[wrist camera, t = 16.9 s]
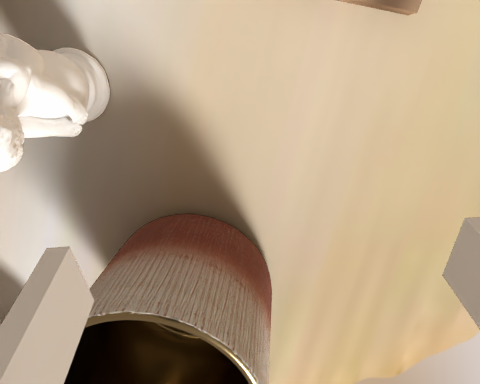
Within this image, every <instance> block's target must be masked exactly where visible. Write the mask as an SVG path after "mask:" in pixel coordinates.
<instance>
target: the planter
mask: <svg viewBox="0 0 480 384" xmlns="http://www.w3.org/2000/svg"><path fill="white" fill-rule="evenodd" d="M89 290H90V292H91V294H92V297H93V299H94V303H93V306H92V308H91V311H90V314H89V316H88V319H87V322H86V325H85V327H84V330H83V333H82V335H81V338H80V341H79V344H78V346H77V349H76V352H75V355H74V357H73V360H72V363H71V365H70V368H69V371H68V374H67V376H66V379H65V382H64V384H268V383H269V351H270V327H271V302H272V288H271V280H270V275H269V271H268V268H267V265H266V263H265V260H264V258H263V257H262V255H261V253H260V252H259V250H258V249H257V248H256V246H255V245H254V244H253V243H252V242H251V241H250V240H249V239H248V238H247V237H246V236H245V235H244V234H242V233H241V232H240V231H238V230H237V229H235V228H234V227H232V226H230V225H228V224H226V223H224V222H222V221H219V220H217V219H214V218H211V217H207V216H202V215H194V214H178V215H171V216H166V217H162V218H159V219H156V220H154V221H152V222H150V223H148V224H146V225H145V226H143V227H142V228H140V229H139V230H138V231H136V232H135V233H134V234H133V235H132V236H131V237H130V238H129V239H128V240H127V241H126V243H125V244H124V245H123V246H122V248H121V249H120V250H119V251H118V253H117V254H116V255H115V257H114V258H113V259H112V260H111V262H110V263H109V264H108V266H107V267H106V268H105V270H104V271H103V272H102V274H101V275H100V276H99V277H98V279H97V280H96V281H95V283H94V284H93V285H92V287H91V288H90V289H89Z"/></svg>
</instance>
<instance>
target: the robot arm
mask: <svg viewBox="0 0 480 384" xmlns="http://www.w3.org/2000/svg"><path fill="white" fill-rule="evenodd" d="M442 276H443V277H444V278H445V280H446V281H447V283H448V284H449V286H450V287H451V289H452V290H453V291H454V293H455V294H456V296H457V297H458V299H459V300H460V302H461V303H462V304H463V306H464V307H465V309H466V310H467V312H468V313H469V315H470V316H471V317H472V319H473V320H474V322H475V323H476V325H477V326H478V328H479V329H480V217H473V218H465V219H464V222H463V224H462V227H461V229H460V232H459V234H458V237H457V239H456V242H455V244H454V247H453V249H452V252H451V254H450V257H449V260H448V262H447V265H446V267H445V270H444V272H443V275H442ZM93 303H94V299H93V297H92V294H91V292H90V290H89V288H88V285H87V283H86V281H85V279H84V277H83V274H82V272H81V270H80V268H79V266H78V263H77V261H76V259H75V257H74V254H73V252H72V250H71V248H70V247H57V248H47V249H46V250H45V252H44V254H43V255H42V257H41V259H40V260H39V262H38V264H37V265H36V267H35V269H34V270H33V272H32V274H31V275H30V277H29V279H28V281H27V282H26V284H25V286H24V287H23V289H22V291H21V292H20V294H19V296H18V297H17V299H16V301H15V302H14V304H13V306H12V307H11V309H10V311H9V312H8V314H7V316H6V317H5V319H4V321H3V322H2V324H1V326H0V384H64V382H65V379H66V376H67V374H68V371H69V368H70V365H71V363H72V360H73V357H74V355H75V352H76V349H77V346H78V344H79V341H80V338H81V335H82V333H83V330H84V327H85V325H86V322H87V319H88V316H89V314H90V311H91V308H92V306H93Z"/></svg>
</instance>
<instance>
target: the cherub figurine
mask: <svg viewBox="0 0 480 384" xmlns="http://www.w3.org/2000/svg"><path fill="white" fill-rule="evenodd" d="M109 98H110V88H109V82H108V79H107V76H106V72H105V70H104V68H103V67H102V66H101V65H100V64H99V62H98V61H97V59H95V58H94V57H91V56H90V55H88V54H87V53H85V52H83V51H81V50H79V49H75V48H66V47H65V48H59V49H56V50H54V51H48V50H36V49H35V48H33V47H32V46H31V45H29V44H28V43H26V42H24V41H23V40H21V39H19V38H17V37H14V36H12V35H9V34H5V33H0V171H5V170H8V169H10V168H11V167H13V166H15V165H16V164H17V162H18V161H19V160H20V159H21V157H22V154H23V152H24V151H23V143H24V141H25V139H24V137H25V138H39V137H49V136H58V137H66V136H67V137H74V136H77V135H79V133H81V131H82V125H83V124H84V123H85V122H89V121H92V120H94V119H96V118H97V117H98V116H100V115H101V114H102V113H103V112H104V110H105V109H106V107H107V104H108V102H109Z"/></svg>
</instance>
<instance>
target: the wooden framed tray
mask: <svg viewBox="0 0 480 384" xmlns="http://www.w3.org/2000/svg"><path fill="white" fill-rule="evenodd" d="M338 1H342V2H347V3H352V4H357V5H362V6H366V7H371V8H376V9H381V10H386V11H390V12H395V13H400V14H405V15H411V14H414V13H417V12H418V9H419V7H420V4H421V1H422V0H338Z"/></svg>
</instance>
